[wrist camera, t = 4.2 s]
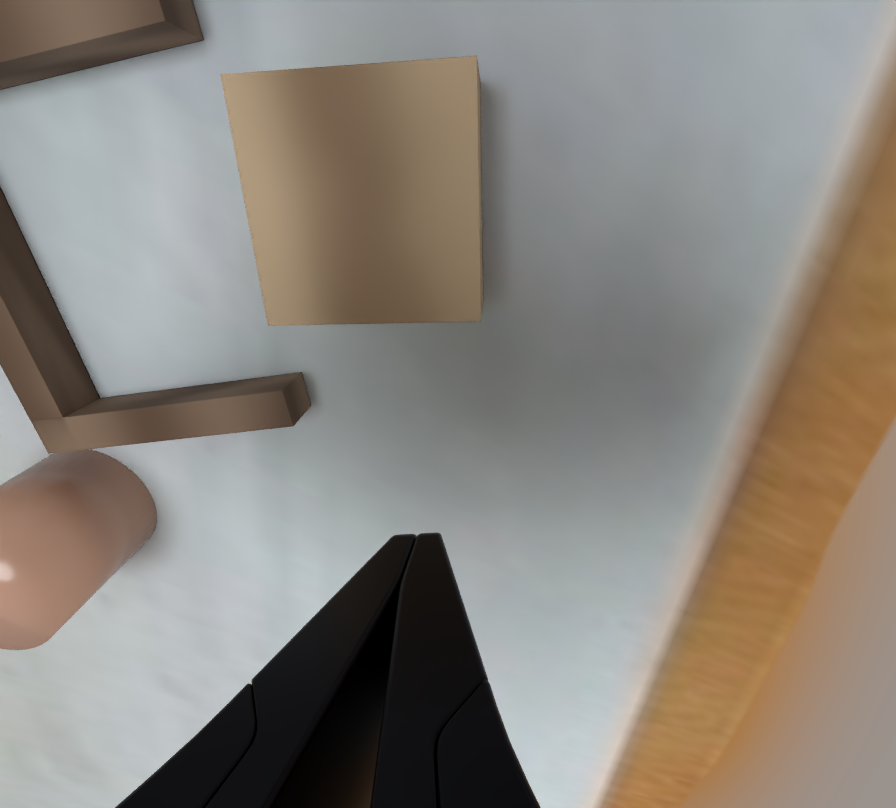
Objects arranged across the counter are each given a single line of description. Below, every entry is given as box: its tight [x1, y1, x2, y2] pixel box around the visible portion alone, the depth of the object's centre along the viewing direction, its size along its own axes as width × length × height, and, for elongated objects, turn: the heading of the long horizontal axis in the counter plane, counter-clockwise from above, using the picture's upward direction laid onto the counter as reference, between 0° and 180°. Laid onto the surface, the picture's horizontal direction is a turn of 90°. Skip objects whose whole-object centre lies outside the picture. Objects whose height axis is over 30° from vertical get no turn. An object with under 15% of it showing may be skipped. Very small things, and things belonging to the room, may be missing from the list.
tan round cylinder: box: [0, 449, 157, 650], centre depth 21 cm, size 6×6×6 cm
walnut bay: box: [0, 0, 311, 453], centre depth 18 cm, size 11×14×2 cm
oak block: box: [221, 56, 483, 325], centre depth 16 cm, size 7×7×4 cm
